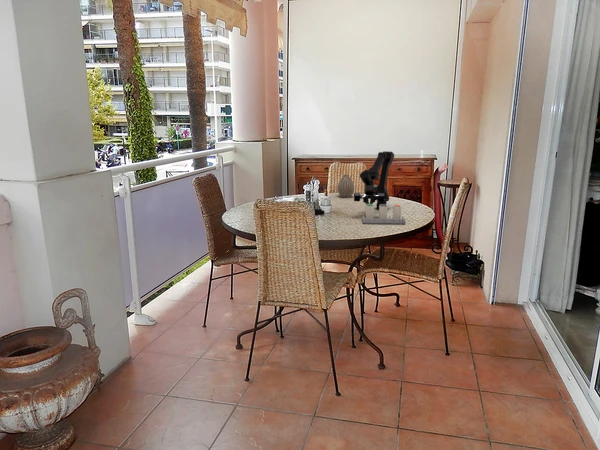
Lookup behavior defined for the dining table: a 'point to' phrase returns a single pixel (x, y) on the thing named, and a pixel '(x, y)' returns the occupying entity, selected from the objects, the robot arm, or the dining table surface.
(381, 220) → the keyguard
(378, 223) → the key mat
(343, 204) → the dining table surface
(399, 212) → the key
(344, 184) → the vase
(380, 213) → the key
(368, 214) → the key
